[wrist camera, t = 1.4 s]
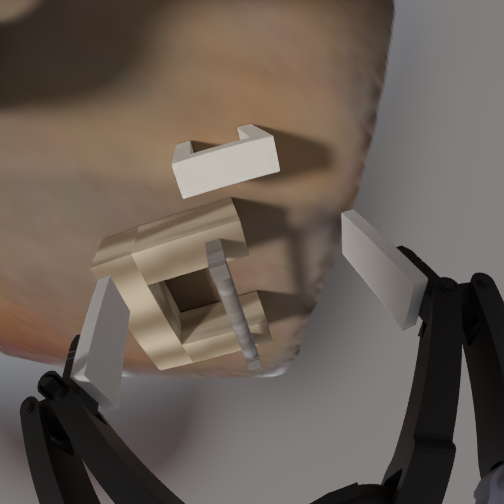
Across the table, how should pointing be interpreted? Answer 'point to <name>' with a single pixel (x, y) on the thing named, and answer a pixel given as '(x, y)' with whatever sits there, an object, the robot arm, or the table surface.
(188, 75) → the table surface
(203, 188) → the white u-shaped bracket
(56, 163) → the table surface
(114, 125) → the table surface
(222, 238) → the c-clamp
